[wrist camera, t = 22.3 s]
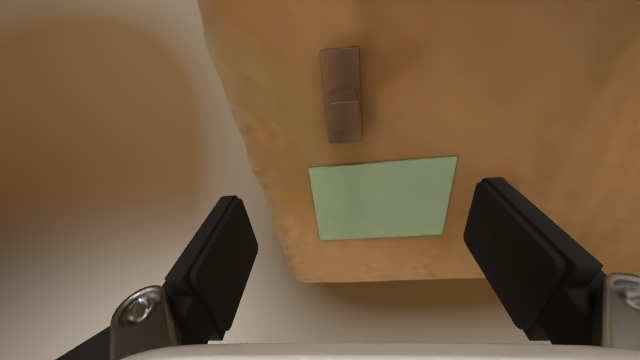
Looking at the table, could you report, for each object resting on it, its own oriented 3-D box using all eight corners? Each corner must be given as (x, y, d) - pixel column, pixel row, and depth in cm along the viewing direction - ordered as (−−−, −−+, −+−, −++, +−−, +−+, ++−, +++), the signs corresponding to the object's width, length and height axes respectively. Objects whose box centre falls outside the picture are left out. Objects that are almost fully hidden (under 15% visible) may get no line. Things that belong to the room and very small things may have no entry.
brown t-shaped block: (329, 135, 32) (327, 166, 25) (320, 50, 27) (314, 57, 19) (360, 133, 31) (367, 163, 24) (357, 45, 26) (365, 51, 19)
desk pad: (456, 155, 32) (457, 157, 32) (441, 233, 39) (442, 234, 39) (308, 167, 34) (308, 169, 34) (320, 238, 42) (320, 240, 41)
